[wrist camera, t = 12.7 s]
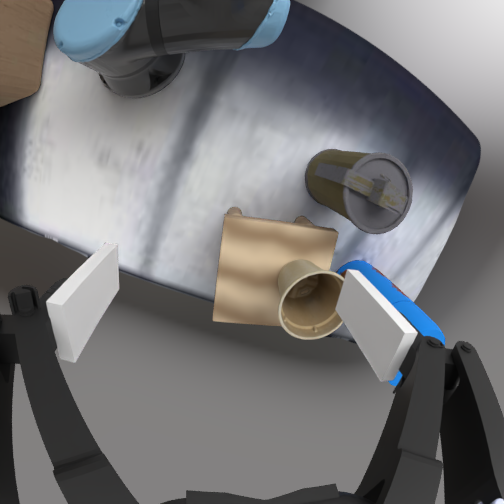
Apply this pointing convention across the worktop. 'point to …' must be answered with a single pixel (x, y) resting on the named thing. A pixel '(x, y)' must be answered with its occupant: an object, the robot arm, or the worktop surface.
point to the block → (22, 46)
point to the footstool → (263, 264)
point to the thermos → (395, 302)
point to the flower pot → (308, 300)
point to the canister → (361, 187)
